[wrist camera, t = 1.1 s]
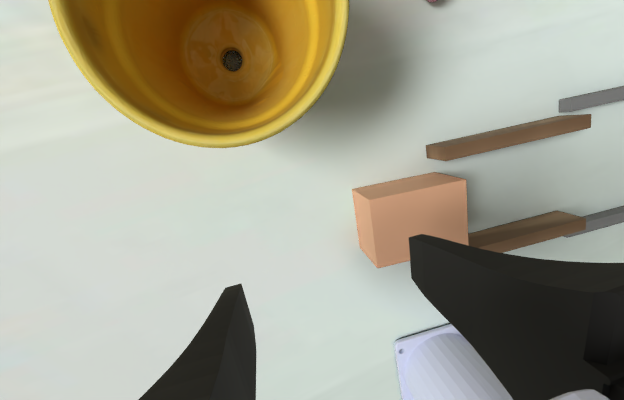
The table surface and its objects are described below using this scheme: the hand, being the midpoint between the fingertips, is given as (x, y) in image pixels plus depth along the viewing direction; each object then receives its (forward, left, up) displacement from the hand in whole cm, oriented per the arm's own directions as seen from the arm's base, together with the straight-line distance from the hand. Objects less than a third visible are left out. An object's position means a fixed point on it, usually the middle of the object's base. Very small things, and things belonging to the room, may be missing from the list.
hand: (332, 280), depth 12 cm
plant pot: (+11, +2, -11) cm, 16 cm away
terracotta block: (-2, -8, -11) cm, 14 cm away
